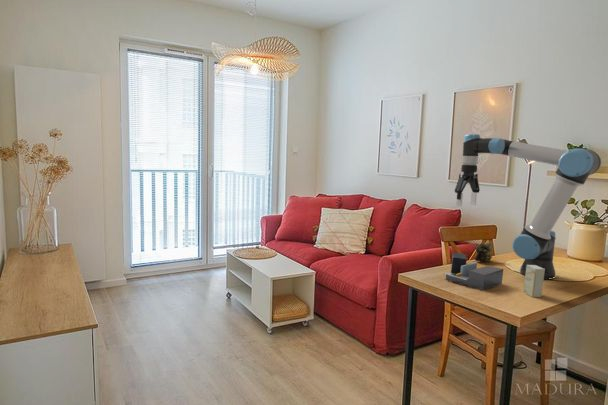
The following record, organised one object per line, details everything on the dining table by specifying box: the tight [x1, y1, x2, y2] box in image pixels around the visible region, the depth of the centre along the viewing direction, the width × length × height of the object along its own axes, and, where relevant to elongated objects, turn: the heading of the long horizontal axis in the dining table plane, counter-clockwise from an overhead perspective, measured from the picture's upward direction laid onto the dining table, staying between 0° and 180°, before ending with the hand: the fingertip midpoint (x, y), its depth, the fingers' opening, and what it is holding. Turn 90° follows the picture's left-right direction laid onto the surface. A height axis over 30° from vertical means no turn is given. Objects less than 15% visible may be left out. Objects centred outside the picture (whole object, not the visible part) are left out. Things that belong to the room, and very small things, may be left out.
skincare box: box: [522, 265, 545, 298], centre depth 171 cm, size 6×4×12 cm
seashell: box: [474, 242, 493, 263], centre depth 225 cm, size 11×11×10 cm
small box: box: [450, 252, 467, 274], centre depth 193 cm, size 11×6×10 cm, turn 160°
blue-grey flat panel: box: [456, 261, 478, 278], centre depth 187 cm, size 1×16×7 cm, turn 128°
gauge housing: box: [444, 265, 504, 291], centre depth 186 cm, size 18×18×7 cm
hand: (466, 205), depth 214 cm, fingers open, 13 cm apart
